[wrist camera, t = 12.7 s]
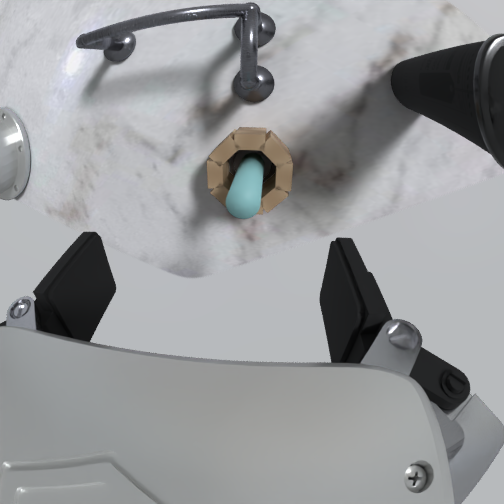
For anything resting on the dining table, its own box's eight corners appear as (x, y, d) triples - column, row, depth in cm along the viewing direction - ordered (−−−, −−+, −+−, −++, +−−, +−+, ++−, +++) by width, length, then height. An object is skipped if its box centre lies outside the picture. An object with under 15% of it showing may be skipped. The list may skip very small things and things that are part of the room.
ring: (215, 127, 22) (205, 134, 19) (291, 129, 22) (294, 136, 19) (217, 195, 25) (209, 212, 22) (287, 198, 25) (289, 215, 22)
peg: (234, 179, 24) (216, 226, 17) (234, 144, 23) (214, 176, 15) (270, 180, 24) (269, 229, 17) (272, 145, 22) (272, 178, 15)
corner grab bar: (108, 113, 21) (66, 126, 16) (106, 35, 17) (63, 29, 11) (273, 102, 20) (274, 107, 15) (275, 13, 16) (277, -12, 10)
